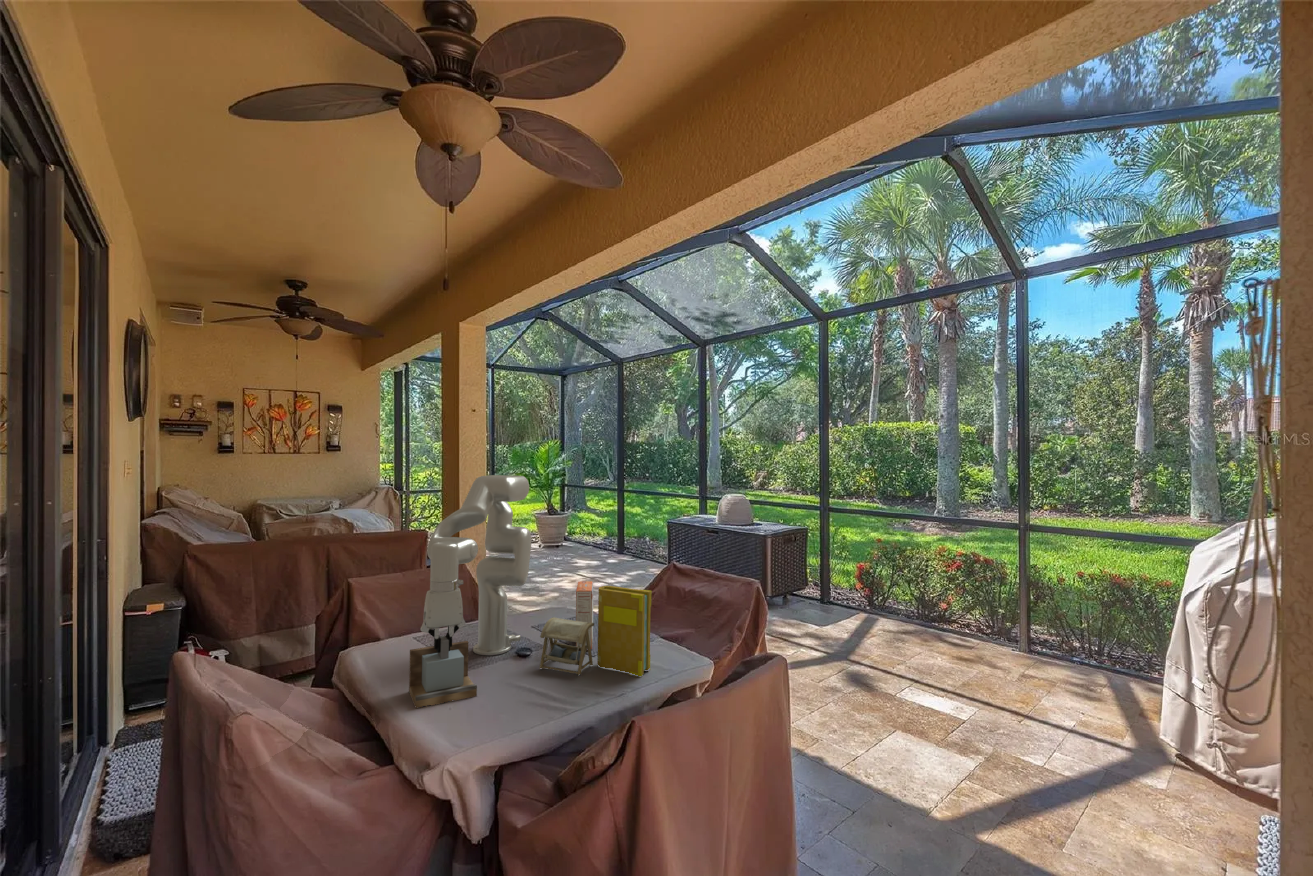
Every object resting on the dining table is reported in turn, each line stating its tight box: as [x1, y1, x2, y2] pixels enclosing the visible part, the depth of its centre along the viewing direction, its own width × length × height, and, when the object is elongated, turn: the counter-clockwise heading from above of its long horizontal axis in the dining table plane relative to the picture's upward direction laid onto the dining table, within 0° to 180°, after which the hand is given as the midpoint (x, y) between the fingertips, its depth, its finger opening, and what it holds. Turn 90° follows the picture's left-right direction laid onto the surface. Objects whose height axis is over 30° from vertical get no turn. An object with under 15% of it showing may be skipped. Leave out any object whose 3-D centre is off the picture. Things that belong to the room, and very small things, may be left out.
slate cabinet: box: [422, 634, 464, 692], centre depth 166 cm, size 10×7×13 cm
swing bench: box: [539, 617, 595, 675], centre depth 186 cm, size 15×10×15 cm, turn 70°
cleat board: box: [408, 640, 478, 709], centre depth 165 cm, size 16×12×12 cm
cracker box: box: [575, 580, 594, 650], centre depth 209 cm, size 14×6×21 cm, turn 5°
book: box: [596, 585, 652, 677], centre depth 186 cm, size 17×7×25 cm, turn 65°
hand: (443, 650), depth 166 cm, fingers closed on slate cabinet
